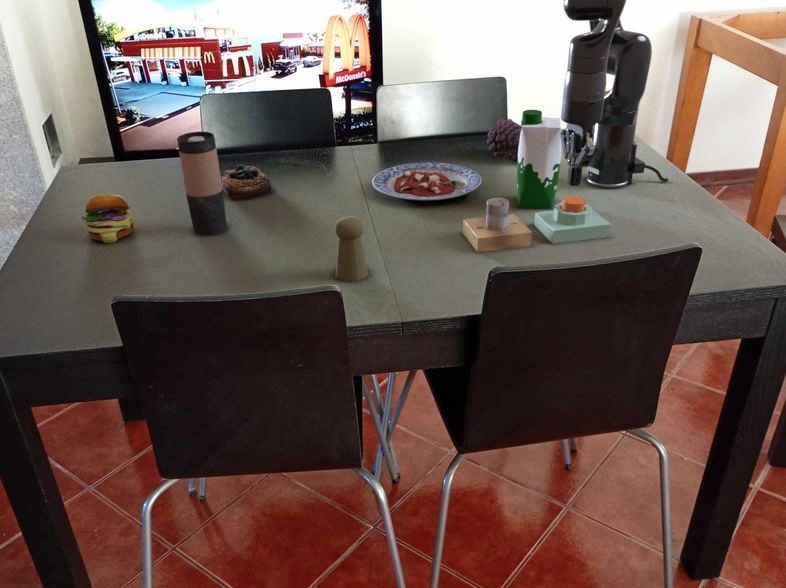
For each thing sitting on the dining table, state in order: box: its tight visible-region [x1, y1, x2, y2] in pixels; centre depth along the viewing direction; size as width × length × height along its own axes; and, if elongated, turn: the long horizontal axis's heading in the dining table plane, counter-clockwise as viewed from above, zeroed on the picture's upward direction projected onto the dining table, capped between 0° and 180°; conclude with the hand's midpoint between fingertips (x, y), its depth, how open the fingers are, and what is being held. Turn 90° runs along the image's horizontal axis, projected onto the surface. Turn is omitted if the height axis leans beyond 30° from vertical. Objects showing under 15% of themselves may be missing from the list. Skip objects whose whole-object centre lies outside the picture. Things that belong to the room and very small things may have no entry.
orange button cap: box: [562, 195, 586, 213], centre depth 153 cm, size 4×4×2 cm
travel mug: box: [176, 131, 227, 236], centre depth 159 cm, size 8×8×20 cm
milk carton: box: [516, 109, 563, 210], centre depth 165 cm, size 9×9×20 cm
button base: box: [533, 201, 612, 245], centre depth 154 cm, size 12×10×5 cm
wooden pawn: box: [334, 215, 369, 282], centre depth 140 cm, size 6×6×11 cm
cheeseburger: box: [81, 193, 135, 244], centre depth 162 cm, size 10×11×10 cm
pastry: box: [221, 163, 272, 201], centre depth 182 cm, size 11×12×6 cm
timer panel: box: [462, 213, 533, 253], centre depth 153 cm, size 11×10×3 cm
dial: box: [485, 197, 510, 230], centre depth 150 cm, size 4×4×5 cm
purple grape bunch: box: [486, 117, 521, 162], centre depth 196 cm, size 18×10×10 cm
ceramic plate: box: [371, 162, 483, 202], centre depth 180 cm, size 26×26×3 cm
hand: (573, 184), depth 151 cm, fingers closed
